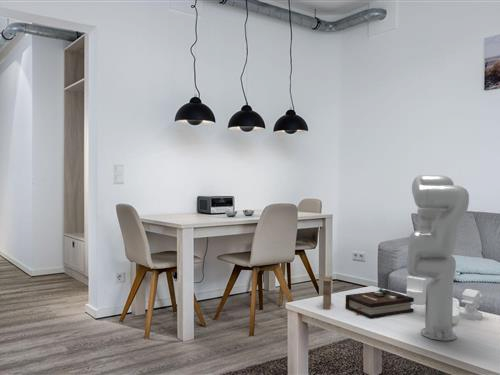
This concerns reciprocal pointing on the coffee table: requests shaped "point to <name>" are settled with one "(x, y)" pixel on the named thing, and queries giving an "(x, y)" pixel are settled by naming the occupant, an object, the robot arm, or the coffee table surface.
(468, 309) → the character figurine
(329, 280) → the bookend
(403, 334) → the coffee table surface
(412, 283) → the cylinder with rectangular tab
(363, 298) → the decorative book
